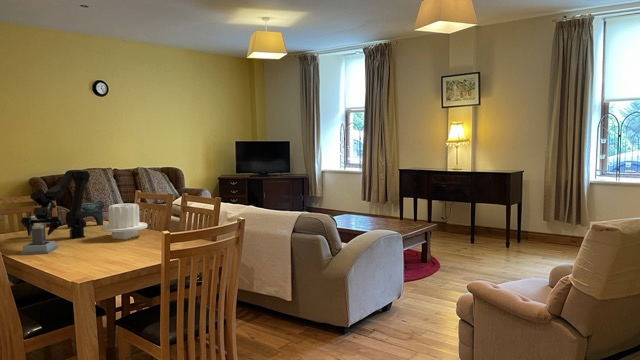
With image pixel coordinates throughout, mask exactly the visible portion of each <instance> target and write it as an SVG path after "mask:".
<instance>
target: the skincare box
mask: <svg viewBox="0 0 640 360" xmlns="http://www.w3.org/2000/svg"><path fill="white" fill-rule="evenodd" d="M30 217H31V219H37V218H35V215H32V216H30ZM40 225H43V223H33V226H32V227H34V226H40ZM28 238H29V239H32V231H31V234H30V236H28Z"/></svg>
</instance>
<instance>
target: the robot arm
mask: <svg viewBox="0 0 640 360" xmlns="http://www.w3.org/2000/svg"><path fill="white" fill-rule="evenodd" d="M90 176H91V175H90V173H89V172H88V170H67V171H66V172H65V174H63V176H62V177H61V178H60V180H59V181H57V183H56V184H55V185H54V186H52V187H51V188H49V189H47V190H46V191H45V192H44V191H43V190H42V189H41V188H40V189H39V188H38V189H37V190H35V191H33V192H32V193H31V194H30V196H29V197H30V199H31V201H33V202H34V204H36V205H37V206H39V207H33V213H32V214H33V215H34V216H35V218H37V219H31V217H32V216H23V217H22V218H21V219H20V223H21V224H22V226H23V228H26V231H27V236H28V237H29V236H30V234H31V231H32V226H33V223H42V224H50V225H49V227H48V231H47V236H50V235H51V234H52V233H53V232H54V231H55V230H56V229H58V228H60V227H63V225H64V220H63V218H62V216H60V215H53V214H52V212H53V209H56V208H57V206H56V204H55V203H54V202H59V201H61V199H62V197H63V196H64V192H65V190H66V189H67V187H68V186H69V185H70V184H71V182H72V181H73V183H74V189H73V197H72V202H71V207H70V208H71V209H70V210H69V211H66V214H65V223H66V226H67V228H69V238H70V239H74V240H75V239H80V238H86V236H85V232H84V231H85V230H84V228H85V227H87V221H85V220H84V218H83V214H82V212H81V205H82V204H83V199H84V191H85V186H87V184H88V183H89V182H90V181H89V180H90Z"/></svg>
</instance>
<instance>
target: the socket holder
mask: <svg viewBox="0 0 640 360" xmlns="http://www.w3.org/2000/svg"><path fill="white" fill-rule="evenodd" d="M57 249H59V246H58V245H56V240H46V245H33V243H32V241H31V242H29V243H27V244H25V245H22V251H21V252H20V253H19V255H20V256H22V255H23V256H26V255H27V256H28V255H29V256H30V255H48V254H49V255H50V253H53V252H54V251H56V250H57Z"/></svg>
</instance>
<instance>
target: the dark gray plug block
mask: <svg viewBox="0 0 640 360" xmlns="http://www.w3.org/2000/svg"><path fill="white" fill-rule="evenodd" d="M31 240H32V241H31V242H32V243H33V245H46V241H47V240H46V227H45V225H44V224H42V225H40V226H34V227H32V238H31Z"/></svg>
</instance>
